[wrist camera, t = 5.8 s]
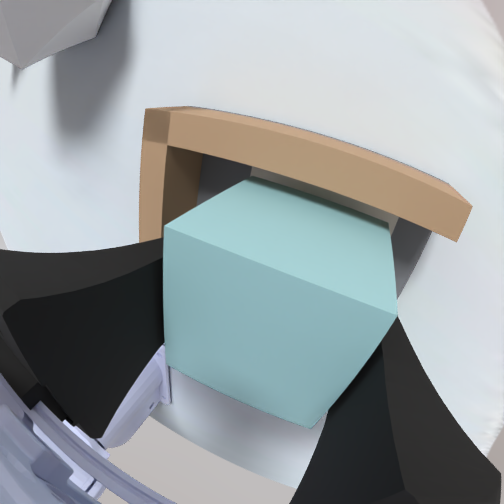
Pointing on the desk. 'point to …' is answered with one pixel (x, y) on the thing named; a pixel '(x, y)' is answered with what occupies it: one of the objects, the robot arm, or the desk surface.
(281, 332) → the cube
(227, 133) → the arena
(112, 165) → the desk surface
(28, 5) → the die
